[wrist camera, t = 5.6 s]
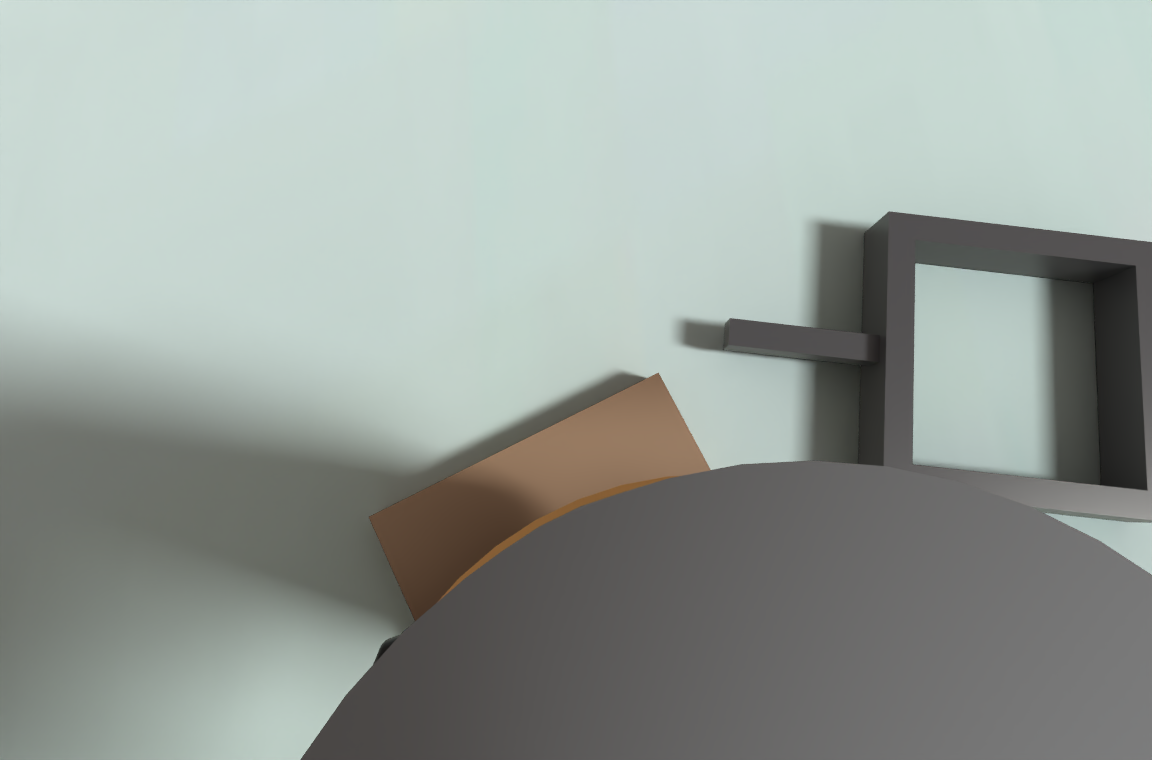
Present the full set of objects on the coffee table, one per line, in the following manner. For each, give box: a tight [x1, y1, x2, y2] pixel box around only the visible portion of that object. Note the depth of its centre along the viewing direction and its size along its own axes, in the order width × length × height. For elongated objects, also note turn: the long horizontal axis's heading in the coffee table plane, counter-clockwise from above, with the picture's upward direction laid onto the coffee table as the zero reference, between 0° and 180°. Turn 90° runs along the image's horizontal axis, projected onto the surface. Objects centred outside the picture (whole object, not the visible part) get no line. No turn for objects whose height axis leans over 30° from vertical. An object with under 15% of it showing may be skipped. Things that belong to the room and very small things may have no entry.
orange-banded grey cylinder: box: [301, 461, 1152, 760], centre depth 9 cm, size 5×5×13 cm
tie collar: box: [723, 212, 1152, 523], centre depth 20 cm, size 8×13×2 cm, turn 84°
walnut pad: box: [369, 373, 710, 621], centre depth 19 cm, size 9×9×1 cm
